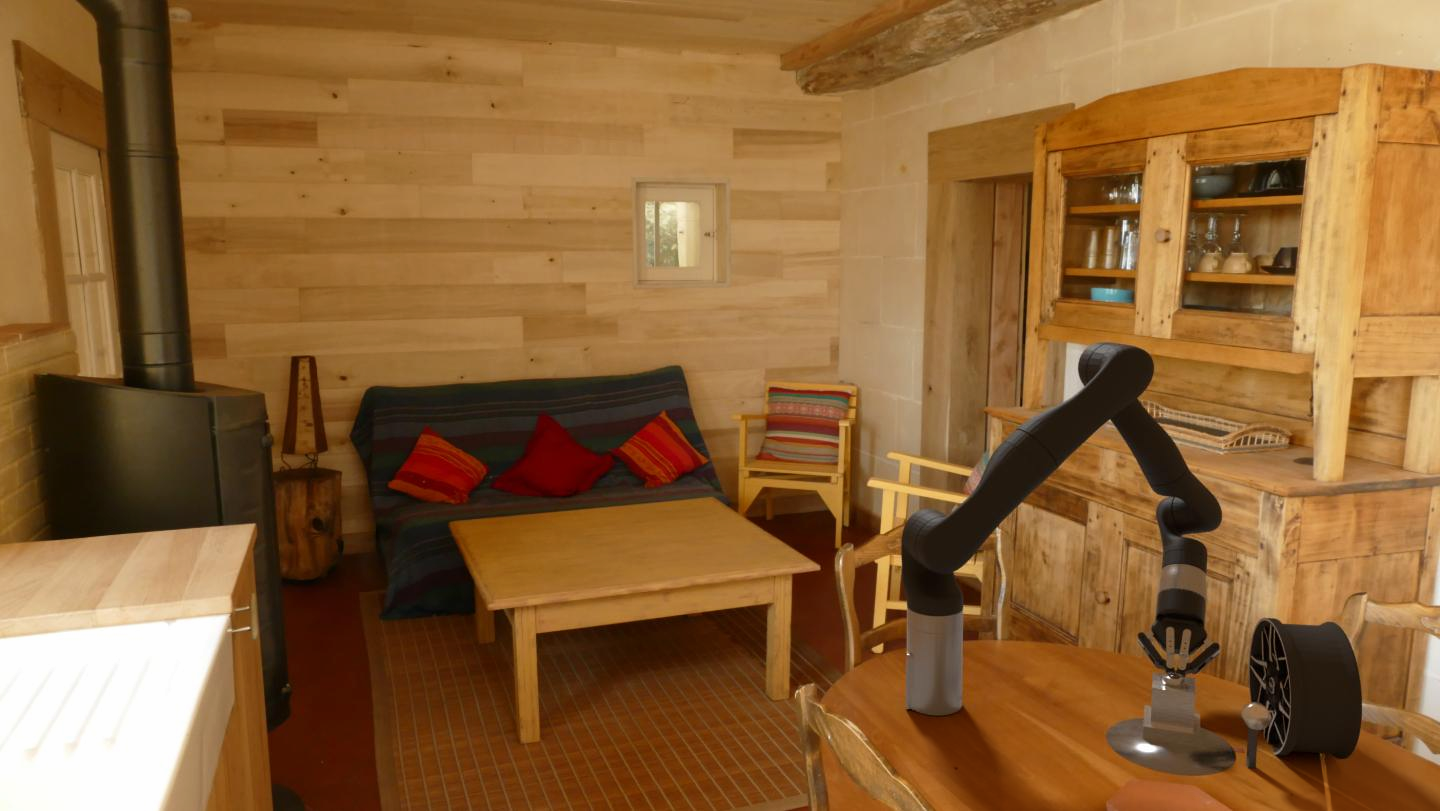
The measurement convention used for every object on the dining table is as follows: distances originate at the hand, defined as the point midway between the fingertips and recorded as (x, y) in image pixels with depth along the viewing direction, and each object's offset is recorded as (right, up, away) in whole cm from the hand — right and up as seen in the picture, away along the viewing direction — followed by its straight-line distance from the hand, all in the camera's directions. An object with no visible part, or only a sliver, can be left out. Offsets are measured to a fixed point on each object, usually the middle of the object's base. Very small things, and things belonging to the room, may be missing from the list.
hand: (1174, 694), depth 163 cm
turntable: (-5, -6, -9) cm, 12 cm away
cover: (-3, -4, -5) cm, 7 cm away
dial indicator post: (+4, -7, -16) cm, 18 cm away
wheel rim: (+15, -6, -9) cm, 18 cm away
